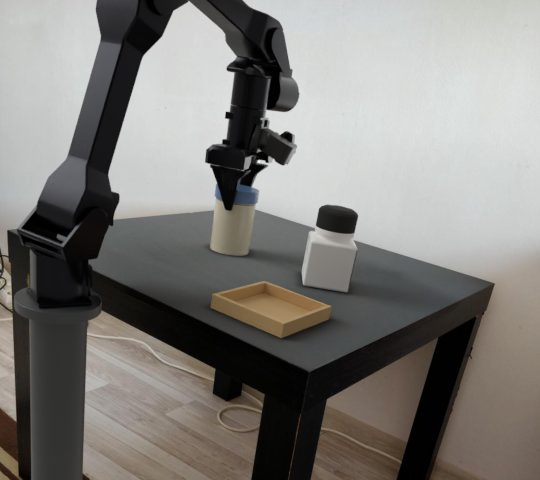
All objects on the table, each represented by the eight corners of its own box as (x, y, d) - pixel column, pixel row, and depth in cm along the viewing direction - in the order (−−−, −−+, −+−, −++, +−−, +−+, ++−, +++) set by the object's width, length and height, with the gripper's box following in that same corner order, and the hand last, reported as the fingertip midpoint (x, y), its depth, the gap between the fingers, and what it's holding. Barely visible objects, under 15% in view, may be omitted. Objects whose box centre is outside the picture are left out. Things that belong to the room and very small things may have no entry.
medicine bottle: (348, 293, 89) (365, 215, 84) (302, 286, 89) (317, 207, 84) (343, 279, 96) (359, 206, 91) (301, 273, 96) (315, 199, 91)
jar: (222, 256, 97) (230, 194, 93) (203, 244, 102) (209, 185, 98) (256, 255, 101) (265, 196, 97) (236, 244, 106) (243, 187, 102)
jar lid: (250, 206, 94) (252, 194, 93) (208, 197, 95) (209, 185, 94) (262, 200, 100) (264, 189, 100) (222, 192, 102) (224, 181, 101)
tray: (281, 338, 69) (283, 323, 68) (210, 307, 74) (212, 293, 73) (328, 319, 77) (331, 306, 77) (262, 293, 83) (264, 280, 82)
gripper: (284, 116, 82) (266, 226, 89) (308, 117, 99) (292, 209, 105) (209, 103, 84) (198, 211, 91) (246, 105, 101) (234, 197, 107)
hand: (235, 207), depth 98 cm, fingers closed on jar lid, 7 cm apart
